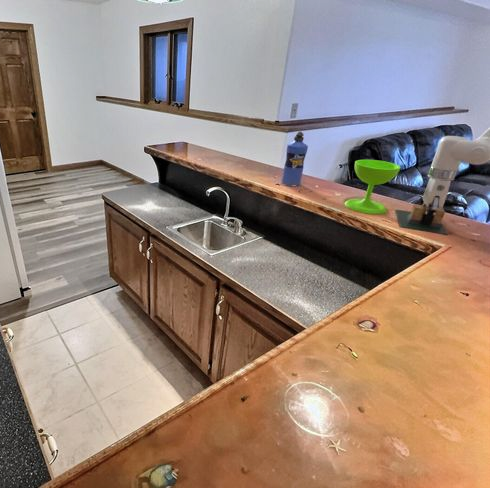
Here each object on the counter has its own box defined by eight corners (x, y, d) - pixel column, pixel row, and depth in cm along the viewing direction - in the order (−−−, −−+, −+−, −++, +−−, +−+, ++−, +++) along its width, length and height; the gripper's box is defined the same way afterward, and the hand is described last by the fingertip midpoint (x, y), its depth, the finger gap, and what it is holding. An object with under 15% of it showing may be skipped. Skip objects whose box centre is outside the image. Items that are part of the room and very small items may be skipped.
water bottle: (278, 180, 180) (287, 130, 168) (297, 181, 179) (306, 130, 168) (283, 186, 171) (292, 133, 160) (302, 186, 171) (313, 134, 160)
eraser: (438, 223, 129) (444, 207, 126) (440, 228, 125) (447, 212, 122) (406, 218, 133) (411, 203, 130) (408, 223, 129) (413, 207, 126)
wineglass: (375, 217, 136) (389, 171, 128) (336, 205, 148) (347, 162, 140) (393, 208, 145) (408, 165, 137) (356, 198, 156) (367, 158, 148)
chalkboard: (436, 217, 137) (437, 215, 136) (447, 237, 120) (448, 234, 120) (395, 211, 142) (395, 209, 142) (400, 229, 126) (401, 226, 125)
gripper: (461, 181, 112) (440, 232, 120) (449, 169, 126) (432, 215, 134) (433, 178, 115) (414, 228, 123) (425, 166, 129) (409, 212, 137)
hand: (424, 221), depth 129 cm, fingers closed on eraser, 5 cm apart
